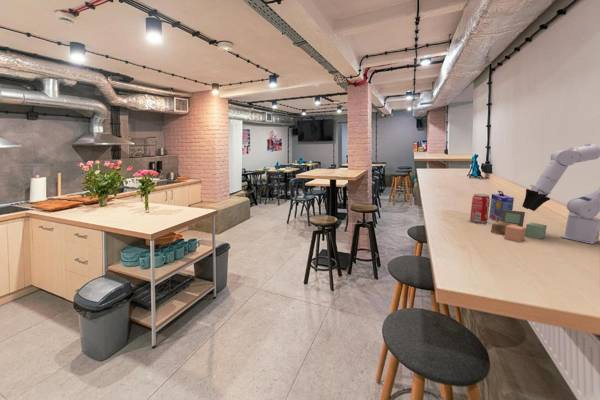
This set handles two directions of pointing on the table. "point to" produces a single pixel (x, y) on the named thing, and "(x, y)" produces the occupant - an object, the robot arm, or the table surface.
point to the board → (513, 217)
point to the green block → (535, 230)
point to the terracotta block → (515, 233)
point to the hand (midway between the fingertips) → (528, 209)
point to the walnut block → (500, 227)
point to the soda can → (480, 208)
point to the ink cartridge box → (500, 205)
